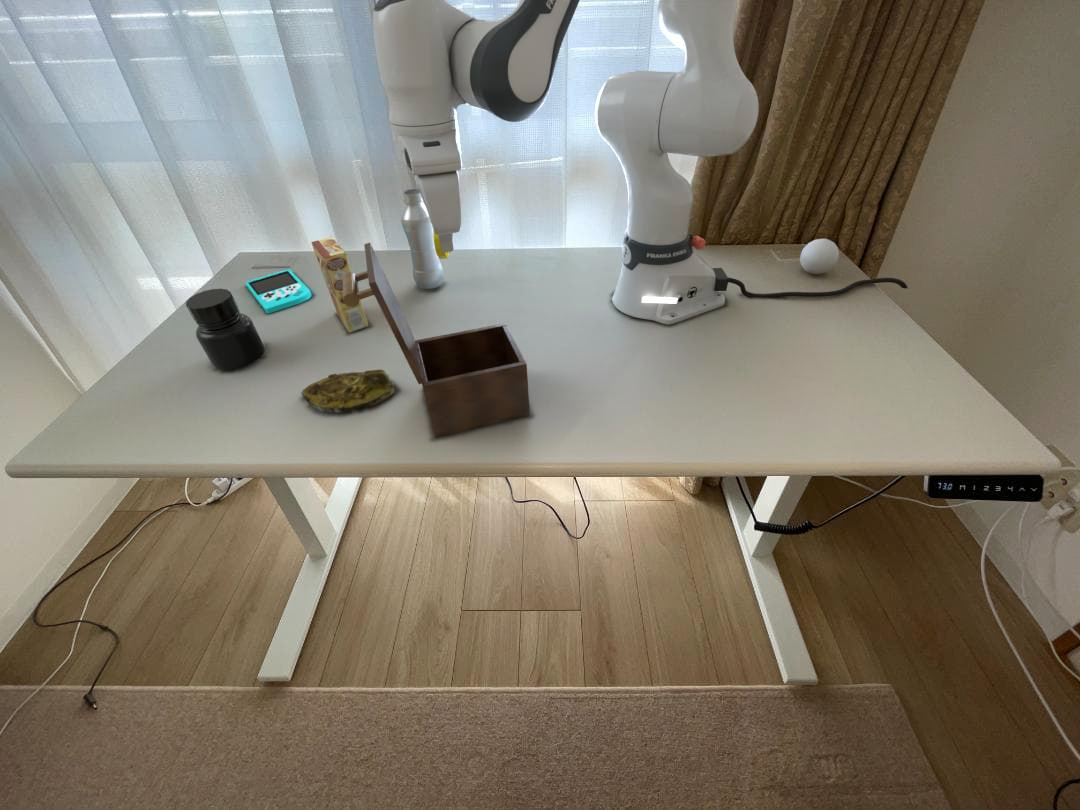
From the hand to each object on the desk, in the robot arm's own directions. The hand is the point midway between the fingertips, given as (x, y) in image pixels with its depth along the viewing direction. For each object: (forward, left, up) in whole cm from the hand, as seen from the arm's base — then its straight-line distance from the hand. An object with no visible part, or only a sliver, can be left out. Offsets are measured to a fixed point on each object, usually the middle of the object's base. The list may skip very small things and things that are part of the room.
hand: (443, 241), depth 76 cm
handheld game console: (+34, -35, -20) cm, 53 cm away
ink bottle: (+39, -11, -20) cm, 45 cm away
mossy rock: (+20, +7, -20) cm, 29 cm away
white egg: (-79, -3, -20) cm, 82 cm away
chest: (+1, +16, -20) cm, 26 cm away
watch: (0, 0, -2) cm, 3 cm away
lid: (+9, +16, -2) cm, 19 cm away
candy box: (+19, -17, -20) cm, 32 cm away
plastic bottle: (+2, -26, -20) cm, 33 cm away
